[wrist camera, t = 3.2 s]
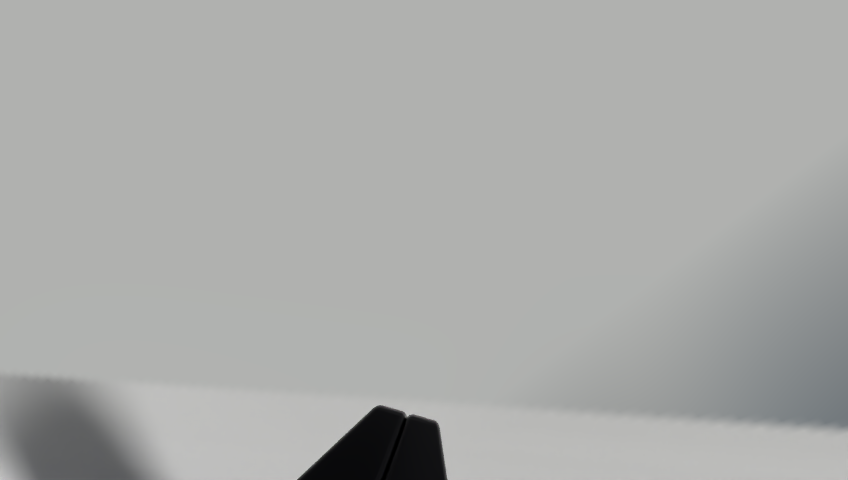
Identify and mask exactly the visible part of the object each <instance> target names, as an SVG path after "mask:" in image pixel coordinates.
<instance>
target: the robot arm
mask: <svg viewBox="0 0 848 480" xmlns="http://www.w3.org/2000/svg"><path fill="white" fill-rule="evenodd" d="M297 480H447V475H446V468H445V461H444V455H443V448H442V441H441V434H440V428H439V425H438V423H437V422H436V421H434V420H431V419H427V418H424V417H420V416H417V415H409V416H408V417H407V416H406V414H405V413H404V412H403V411H400V410H396V409H393V408H389V407H386V406H381V405H379V406H376V407H375V408H373V409H372V410H371V411H370V412H369V413H368V414H367V415H366V416H365V417H364V418H362V419H361V420H360V421H359V422H358V423H357V424H356V425H355V426H354V427H353V428H352V429H351V430H350V431H349V432H348V433H346V434H345V435H344V436H343V437H342V438H341V439H340V440H339V441H338V442H337V443H336V444H335V445H334V446H333V447H331V448H330V449H329V450H328V451H327V452H326V453H325V454H324V455H323V456H322V457H321V458H320V459H319V460H318V461H317V462H315V463H314V464H313V465H312V466H311V467H310V468H309V469H308V470H307V471H306V472H305V473H304V474H303V475H302V476H301V477H299V478H298V479H297Z"/></svg>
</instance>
